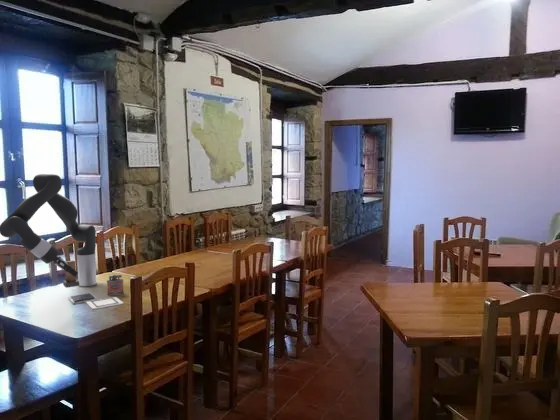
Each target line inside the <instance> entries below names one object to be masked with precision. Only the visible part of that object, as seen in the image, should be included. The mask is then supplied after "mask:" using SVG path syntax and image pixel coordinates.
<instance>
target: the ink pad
mask: <svg viewBox="0 0 560 420" xmlns="http://www.w3.org/2000/svg"><path fill="white" fill-rule="evenodd" d="M67 299H68V301H70V303H71V304H72V305H77V304H78V305H79V304H83V303H85V304H86V302H89V301H94V300H98V298H97V297H96V296H95V295H94V294H92V293H82V294H77V295H70V296H69V297H68V298H67Z"/></svg>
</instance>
